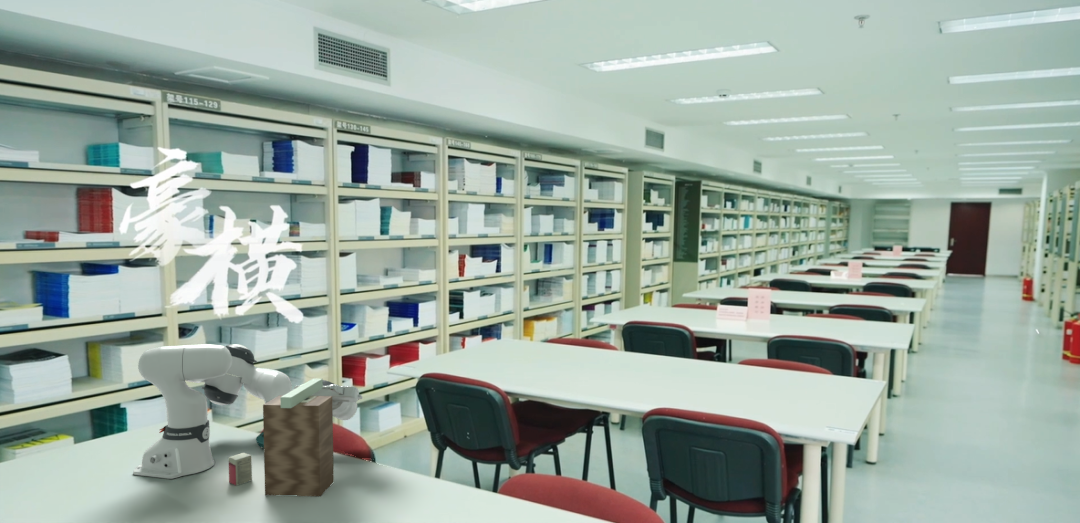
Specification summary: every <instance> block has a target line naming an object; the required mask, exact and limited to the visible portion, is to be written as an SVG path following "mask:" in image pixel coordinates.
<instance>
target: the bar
mask: <svg viewBox="0 0 1080 523" xmlns="http://www.w3.org/2000/svg"><path fill="white" fill-rule="evenodd" d="M323 380H324V379H323V378H312V379H310V380H308V381H306V382H305V383H303V385H302V384H301V385H298V386H299V387H297V388H296V389H294V388H293V389H292V391H290V392H289V393H287V394H285V395H283V396H282V397H280V400H281V408H292V407H294V406H295V405H297V404H299V403H300V402H302V401H303V400H305V399H306V398H308V397H310V396H311V395H313V394H314V393H316V392H317V391H319V390H321V389H322V388H323Z"/></svg>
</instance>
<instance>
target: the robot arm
mask: <svg viewBox="0 0 1080 523" xmlns="http://www.w3.org/2000/svg"><path fill="white" fill-rule="evenodd" d="M257 362H258V361H257V360H255V355H254V354H253V352H252V350H251V349H249V348H248V347H246V346H245V345H243V344H238V343H235V344H227V345H226V346H225V345H220V344H213V343H205V344H203V343H202V344H185V345H183V344H180V345H162V346H158V347H157V346H156V347H154V348H150V349H146V350H145V351H144V352H143V353H142V354H141V356H140V358H139V360H138V362H137V363H138V364H137V366H138V367H137V368H138V372H139V374H140V376H141V378H143V379H144V380H145V381H147V382H149V383H150V384H152V385H153V386H154V387H155V388H157V390H158V391H159V393H161V395H162V397H163V399H164V401H165V402H164V403H165V407H166V408H165V409H166V413H167V414H166V415H167V416H166V417H167V424H166V425H164V426H163V427H161V428H160V429H159V434H161V433H162V437H160V438H159V439H158V440H157V441H155V442H154V443H153V444H152V445H151V446H149V447H148V448H147V449H145V451H144V452H143V455H142V460H141V463H140V464H138V465H137V466H136V467H134V469H133V472H132V474H133V475H135V476H142V477H144V476H145V477H152V478H160V479H168V480H170V479H177V478H179V477H182V476H188V475H193V474H197V473H201V472H204V471H206V470H208V469H210V468H212V467H213V466H215V463H216V461H215V460H214V457H213V454H212V450H211V449H212V448H211V446H210V445H211V444H210V435H211V434H210V433H211V430H210V427H211V426H210V420H209V419H208V401H210V402H211V403H212V404H215V405H218V406H228V405H229V406H230V405H232V404H234V402H235V401H236V400H237V399H238V397H239V392H240V391H241V389H242V387H243V388H244V391H246V392H247V393H249V395H251V396H254V397H256V398H258V399H261V400H263V401H264V404H265V403H267V402H269V401H271V400H272V399H274V398H276V397H278V396H279V395H281V396H283V395H285V394H287V393H289V392H290V391H292V390H294V389H296V388H297V387H299V386H300V385H295V386H294V387H293V383H292V381H291V378H290V377H289V376H288V374H286V373H284V372H282V371H280V370H276V369H272V368H263V367H258V366H255V365H254V363H257ZM187 382H189V383H196V384H197V383H200V384H201V383H204V386H201V389H202V390H203V391H204V393H202V392H201V391H199V390H197V389H194V388H192V387H190V386H189V385H188V384H187ZM303 384H304V383H303ZM303 384H301V385H303ZM359 391H360V390H359V389H358V388H357V387H356V386H354V385H351V386H350V385H339V384H335V383H334V382H331V381H329V380H325V379H323V388H322V389H321V390H319V391H317V392H316V393H314V394H313V395H311V396H332V412H333V417H334V418H336V419H338V420H341V421H349V420H351V419H352V418H353V417H354V416H355V415H356V413H357V411H358V403H357V402H358V401H359V400H362V399H363V398H364V397H363V395H362V394H360V392H359Z"/></svg>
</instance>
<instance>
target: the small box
mask: <svg viewBox="0 0 1080 523" xmlns="http://www.w3.org/2000/svg"><path fill="white" fill-rule="evenodd" d="M227 462H228V482H229V484H232V485H234V486H237V487H238V486H240V485H243V484H245V483H249V482H251V481H253V472H252V471H253V469H252V468H253V467H252V466H253V463H252V455H251V454H249V453H246V452H241V453H237V454H235V455H231V456H228V461H227ZM248 481H249V482H248Z"/></svg>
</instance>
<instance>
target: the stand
mask: <svg viewBox="0 0 1080 523" xmlns="http://www.w3.org/2000/svg"><path fill="white" fill-rule="evenodd" d="M280 397H282V396H281V395H279V396H278V397H276V398H274V399H272V400H271V401H269V402H267V403H265V402H264V404H263V405H262V415H263V418H262V419H263V426H262V427H263V432H264V448H263V458H264V459H263V462H264V463H263V464H264V466H263V467H264V468H263V469H264V495H265V496H276V495H297V496H296V497H319V496H320V497H322V496H323V495H324V494H325V493H326V491H327V490H328V489H329V488H330V487H331V486H332V485H333V484H334V483H333V482H335V480H334V478H335V477H334V471H335V470H334V432H333V431H334V430H333V429H334V426H333V423H334V421H333V419H334V418H333V417H334V416H333V412H332V396H310V397H308V398H306V399H305V400H303V401H302V402H300V403H299V404H297V405H295V406H294V407H292V408H281V400H280ZM332 483H333V484H332ZM331 484H332V485H331ZM330 485H331V486H330Z"/></svg>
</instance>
